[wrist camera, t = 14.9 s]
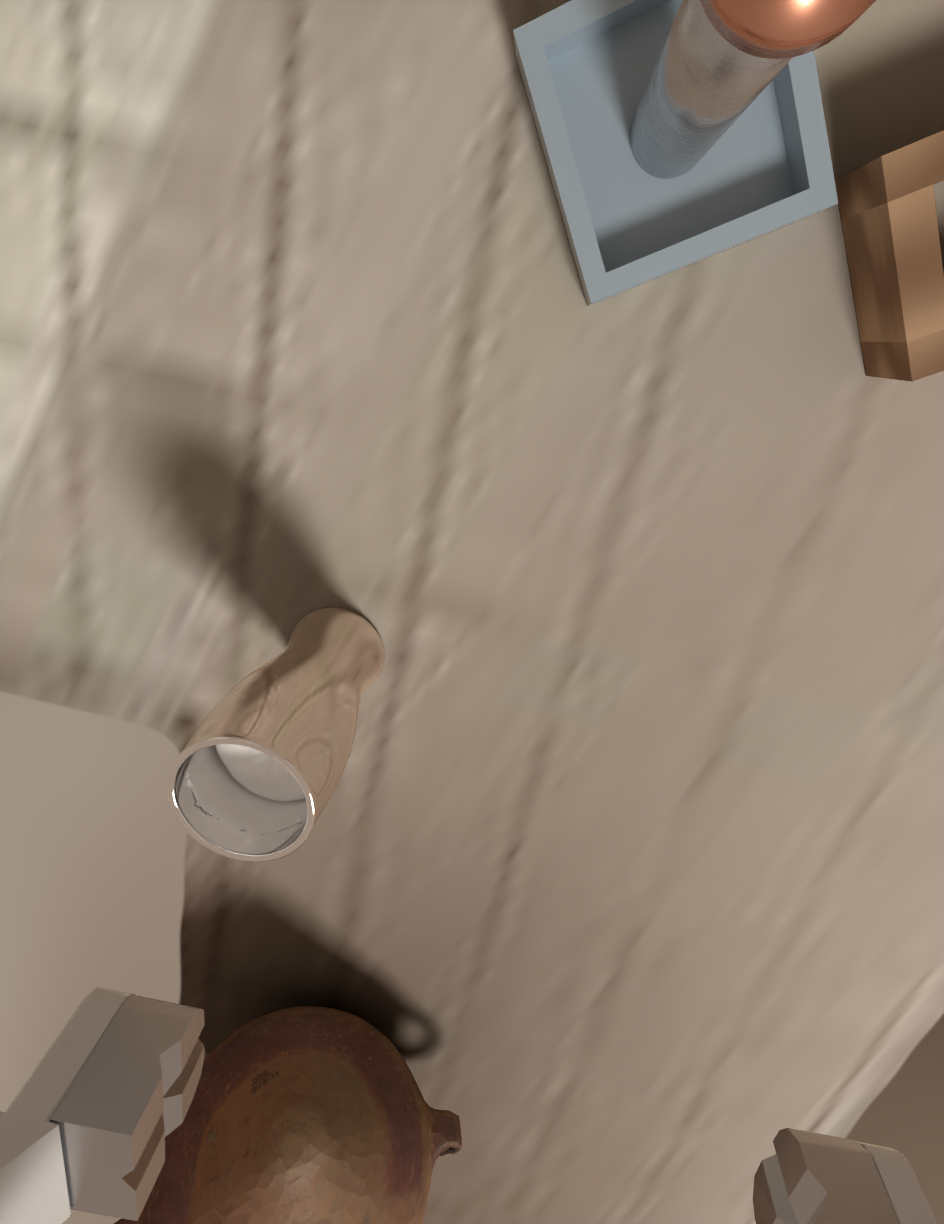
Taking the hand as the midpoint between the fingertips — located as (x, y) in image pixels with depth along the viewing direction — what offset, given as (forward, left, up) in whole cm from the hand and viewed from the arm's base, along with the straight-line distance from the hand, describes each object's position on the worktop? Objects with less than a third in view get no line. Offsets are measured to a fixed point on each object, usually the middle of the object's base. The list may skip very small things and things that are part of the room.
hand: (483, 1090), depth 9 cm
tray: (-15, +12, -31) cm, 37 cm away
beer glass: (+4, -14, -31) cm, 35 cm away
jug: (+42, -33, -31) cm, 62 cm away
